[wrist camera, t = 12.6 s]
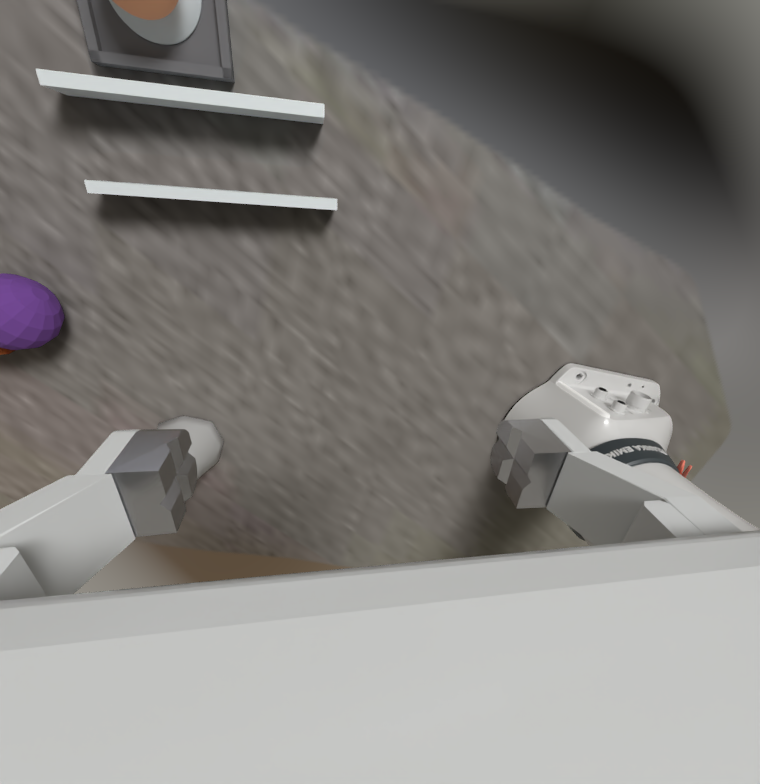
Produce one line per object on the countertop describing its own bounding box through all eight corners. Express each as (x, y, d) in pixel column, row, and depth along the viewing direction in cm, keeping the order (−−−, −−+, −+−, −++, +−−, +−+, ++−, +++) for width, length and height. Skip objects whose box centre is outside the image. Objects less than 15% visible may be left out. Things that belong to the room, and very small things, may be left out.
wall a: (334, 198, 32) (337, 199, 29) (334, 208, 32) (337, 210, 29) (104, 180, 28) (84, 180, 26) (107, 192, 29) (87, 192, 26)
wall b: (322, 111, 29) (324, 103, 26) (323, 124, 29) (324, 117, 26) (63, 80, 25) (35, 68, 23) (67, 95, 26) (40, 84, 23)
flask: (148, 415, 39) (101, 479, 30) (220, 413, 40) (195, 474, 31) (162, 468, 42) (124, 539, 33) (228, 464, 43) (208, 532, 35)
